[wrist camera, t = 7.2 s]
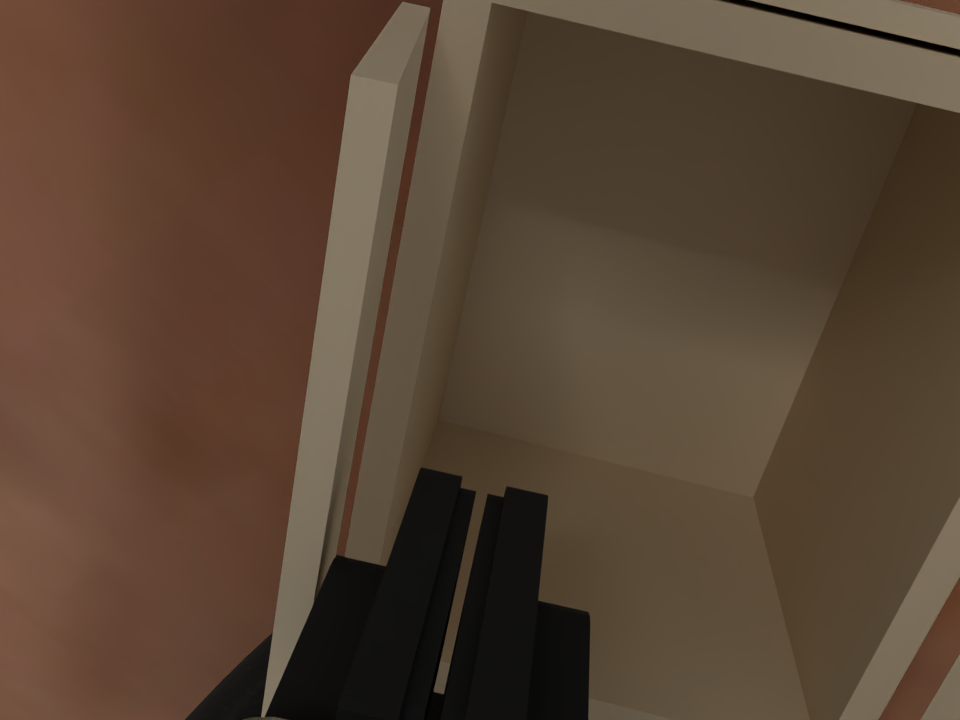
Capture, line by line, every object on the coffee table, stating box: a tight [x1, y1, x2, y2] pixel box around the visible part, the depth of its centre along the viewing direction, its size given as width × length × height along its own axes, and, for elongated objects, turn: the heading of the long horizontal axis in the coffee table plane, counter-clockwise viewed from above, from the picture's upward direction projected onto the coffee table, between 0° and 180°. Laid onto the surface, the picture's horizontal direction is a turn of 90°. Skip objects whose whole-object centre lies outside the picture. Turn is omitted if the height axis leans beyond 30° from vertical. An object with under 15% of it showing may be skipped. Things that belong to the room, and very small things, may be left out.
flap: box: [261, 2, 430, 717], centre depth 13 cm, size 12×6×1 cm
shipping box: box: [344, 0, 960, 720], centre depth 20 cm, size 15×11×10 cm
